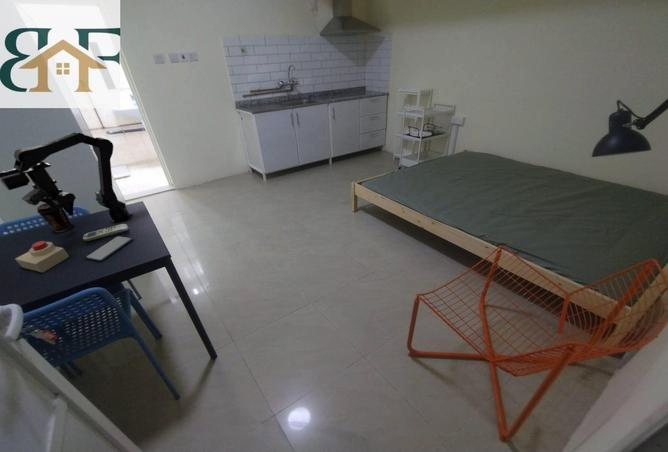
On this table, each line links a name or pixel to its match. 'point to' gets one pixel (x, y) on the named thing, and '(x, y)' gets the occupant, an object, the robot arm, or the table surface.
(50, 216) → the coffee cup
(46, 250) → the power button base
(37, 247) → the power button
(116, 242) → the smartphone
